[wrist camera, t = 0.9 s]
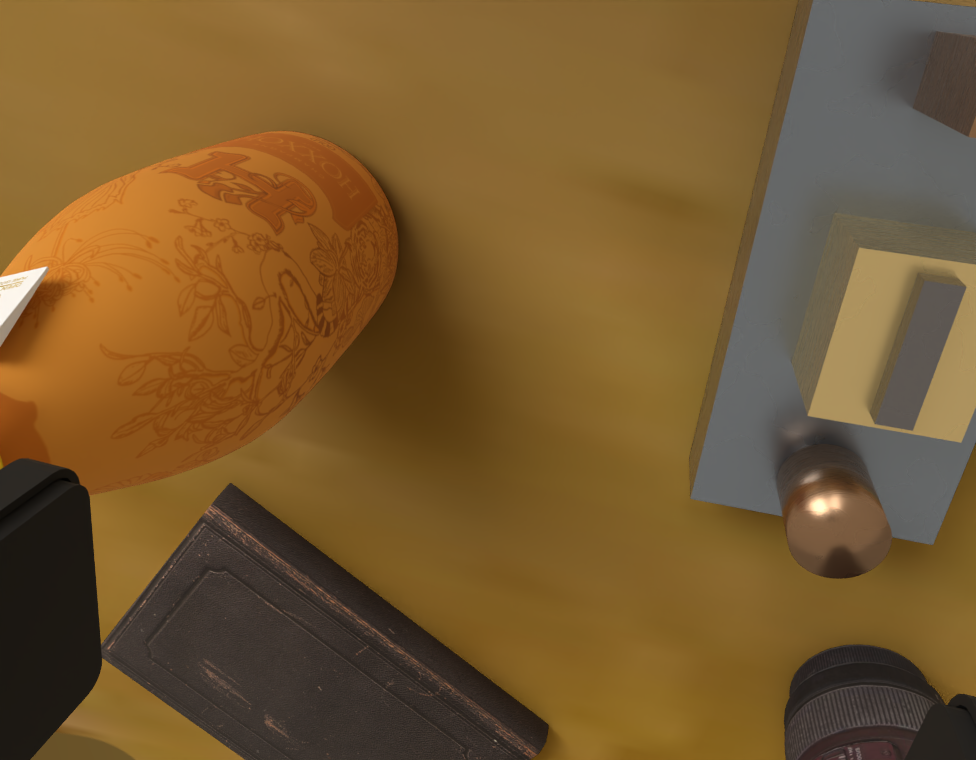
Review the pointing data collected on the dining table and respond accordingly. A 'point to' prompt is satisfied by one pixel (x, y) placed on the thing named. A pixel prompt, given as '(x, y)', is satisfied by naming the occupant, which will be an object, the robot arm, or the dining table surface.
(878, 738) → the camera lens
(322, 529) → the dining table surface
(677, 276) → the dining table surface
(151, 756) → the dining table surface
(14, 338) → the wine bottle
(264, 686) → the hardcover book
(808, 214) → the hand plane
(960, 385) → the lever cap
